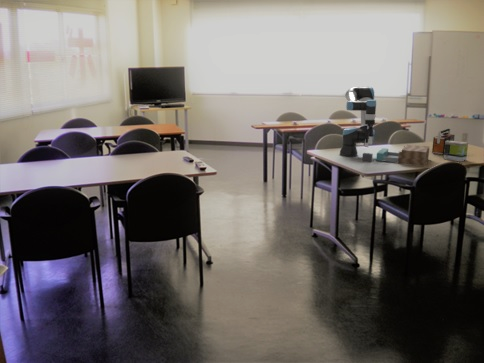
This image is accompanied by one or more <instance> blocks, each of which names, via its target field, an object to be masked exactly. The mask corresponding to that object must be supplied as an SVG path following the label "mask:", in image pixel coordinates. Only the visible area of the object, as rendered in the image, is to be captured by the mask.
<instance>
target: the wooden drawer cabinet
mask: <svg viewBox="0 0 484 363" xmlns="http://www.w3.org/2000/svg"><path fill="white" fill-rule="evenodd" d="M398 153H399V157H398V162H397V164H401V165H402V164H403V165H411V166H419V167H420V166H421V167H422V166H423V167H424V166H425V165H426V164H427V163H428V161H429V155H430V146H428V145H417V144H415V145H414V144H406V145H405V146H403V148H402V150H401V151H398Z"/></svg>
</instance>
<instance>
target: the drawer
mask: <svg viewBox="0 0 484 363" xmlns="http://www.w3.org/2000/svg"><path fill="white" fill-rule="evenodd" d="M398 157H399V152H391V151H389V148H384V147H382V148H381V149H380V150H379V151H378V152H377V153H376V158H375V159H376V160H375V161H379V162H392V163H398Z"/></svg>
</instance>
